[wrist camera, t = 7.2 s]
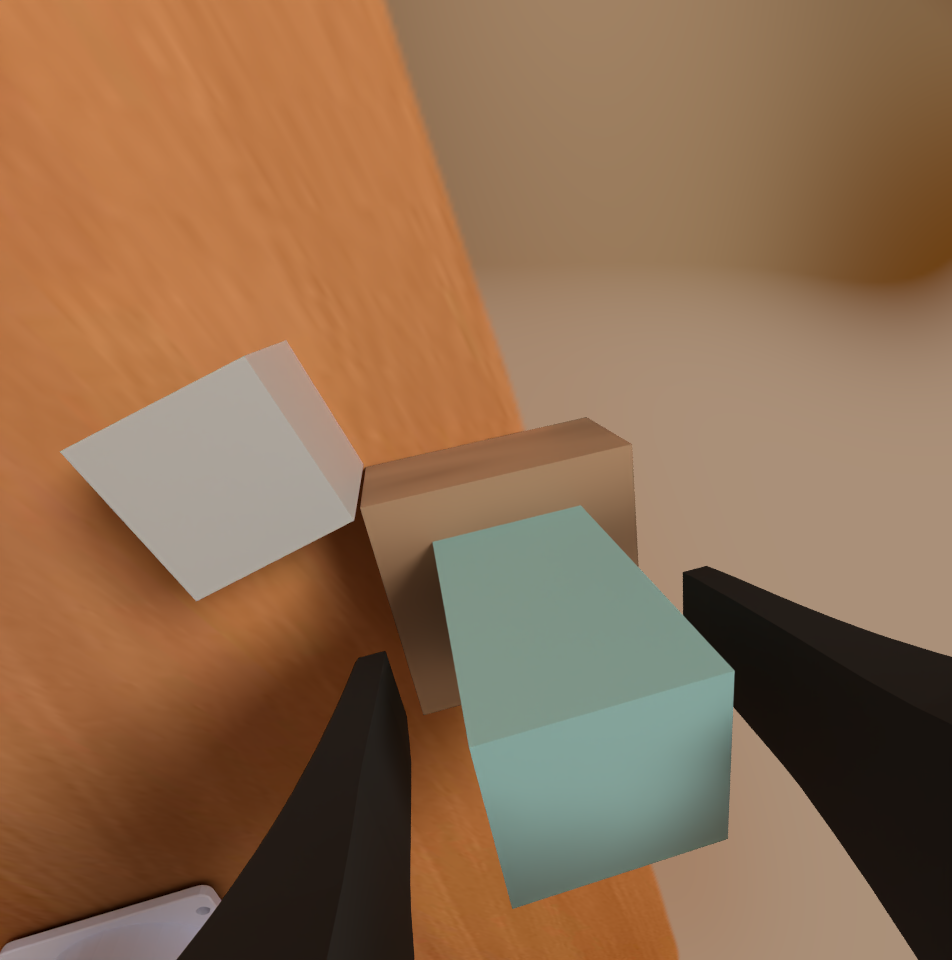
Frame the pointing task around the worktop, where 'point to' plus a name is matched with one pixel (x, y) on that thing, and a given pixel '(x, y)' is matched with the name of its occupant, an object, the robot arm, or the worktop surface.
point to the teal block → (583, 704)
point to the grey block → (227, 470)
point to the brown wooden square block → (483, 520)
